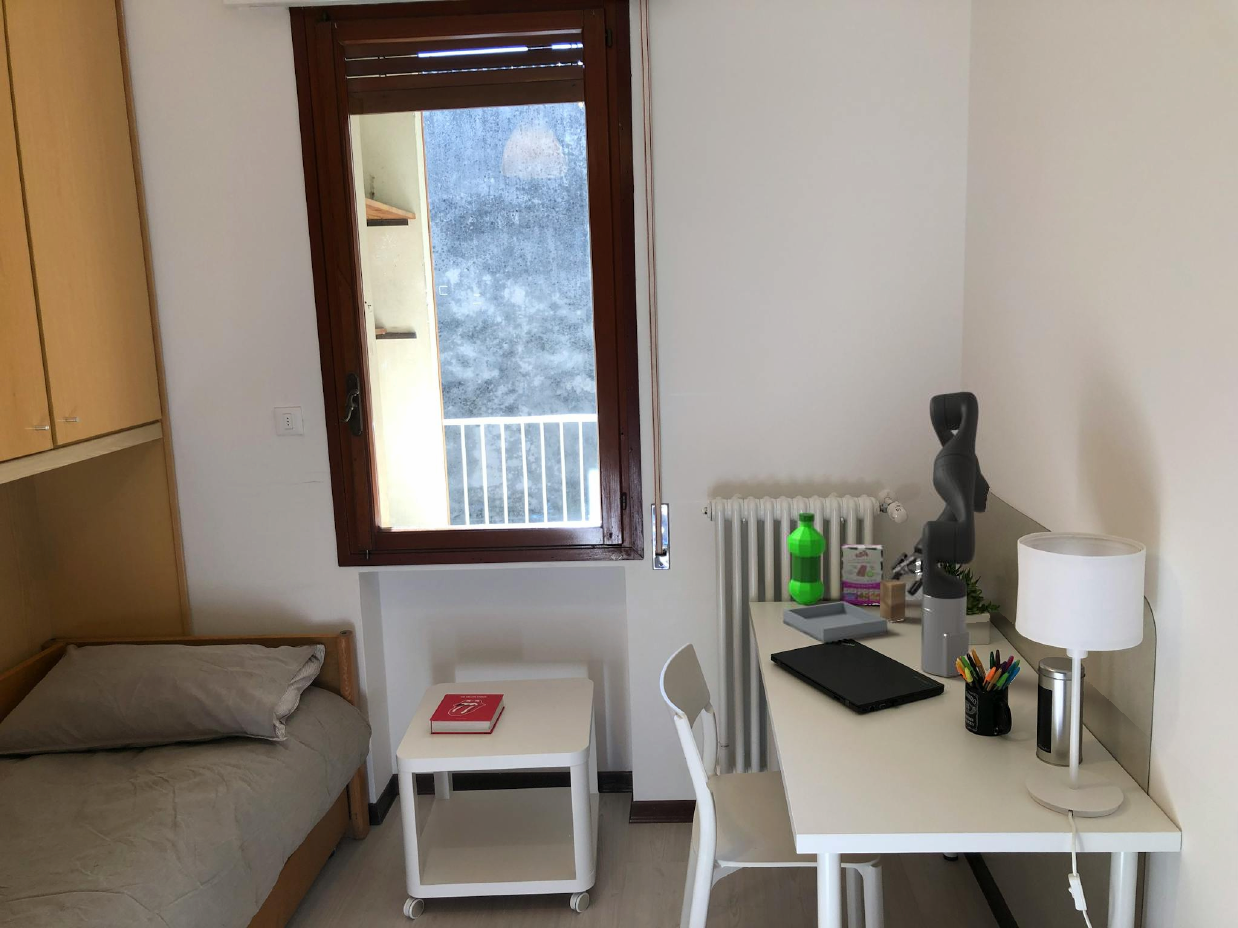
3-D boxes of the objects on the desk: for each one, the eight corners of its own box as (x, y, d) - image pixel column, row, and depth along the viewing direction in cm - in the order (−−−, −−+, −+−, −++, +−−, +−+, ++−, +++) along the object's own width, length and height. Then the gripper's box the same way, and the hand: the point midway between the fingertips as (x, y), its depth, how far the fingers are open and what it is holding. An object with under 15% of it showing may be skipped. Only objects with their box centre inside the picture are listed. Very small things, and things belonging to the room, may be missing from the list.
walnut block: (905, 620, 245) (905, 582, 244) (890, 622, 243) (891, 584, 242) (894, 615, 249) (894, 579, 248) (880, 618, 247) (880, 580, 246)
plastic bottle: (792, 607, 259) (792, 518, 256) (785, 597, 270) (785, 511, 266) (828, 606, 259) (829, 517, 256) (819, 596, 270) (820, 510, 267)
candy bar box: (883, 602, 262) (884, 544, 260) (882, 606, 258) (883, 548, 255) (842, 599, 266) (842, 542, 264) (841, 604, 261) (841, 546, 259)
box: (887, 633, 234) (887, 619, 234) (823, 643, 228) (823, 629, 227) (843, 614, 252) (843, 601, 251) (783, 622, 245) (783, 609, 244)
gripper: (910, 529, 254) (874, 575, 251) (946, 538, 240) (908, 587, 238) (925, 546, 256) (890, 592, 254) (962, 557, 243) (925, 605, 240)
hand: (899, 589), depth 246 cm, fingers open, 8 cm apart
